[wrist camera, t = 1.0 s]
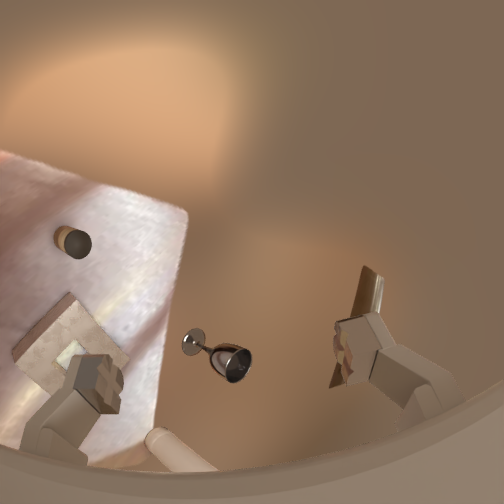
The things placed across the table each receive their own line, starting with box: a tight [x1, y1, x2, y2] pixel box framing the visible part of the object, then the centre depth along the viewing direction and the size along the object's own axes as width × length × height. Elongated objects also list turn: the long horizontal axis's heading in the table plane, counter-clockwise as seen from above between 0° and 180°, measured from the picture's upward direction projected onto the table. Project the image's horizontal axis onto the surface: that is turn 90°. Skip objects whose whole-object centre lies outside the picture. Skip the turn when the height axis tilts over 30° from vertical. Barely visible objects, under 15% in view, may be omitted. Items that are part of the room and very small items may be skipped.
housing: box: [12, 292, 130, 396], centre depth 44 cm, size 16×16×5 cm
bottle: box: [145, 427, 219, 472], centre depth 53 cm, size 8×8×30 cm
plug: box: [54, 226, 92, 259], centre depth 40 cm, size 4×4×10 cm
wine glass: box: [182, 328, 252, 383], centre depth 64 cm, size 8×8×15 cm
